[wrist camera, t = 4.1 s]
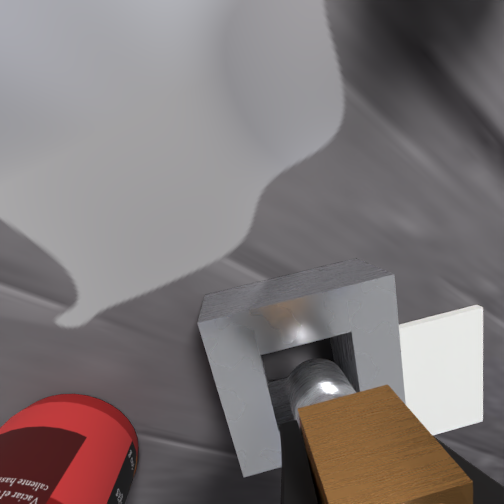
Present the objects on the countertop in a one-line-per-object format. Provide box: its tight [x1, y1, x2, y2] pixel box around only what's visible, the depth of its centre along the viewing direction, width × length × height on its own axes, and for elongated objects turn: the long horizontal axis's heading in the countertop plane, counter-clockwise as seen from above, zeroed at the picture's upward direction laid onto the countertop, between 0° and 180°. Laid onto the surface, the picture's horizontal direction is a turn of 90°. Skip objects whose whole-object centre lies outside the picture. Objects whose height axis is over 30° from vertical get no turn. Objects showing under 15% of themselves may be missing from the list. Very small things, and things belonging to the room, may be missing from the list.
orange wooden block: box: [286, 358, 473, 504], centre depth 8 cm, size 6×3×6 cm, turn 12°
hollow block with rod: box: [198, 258, 406, 477], centre depth 13 cm, size 14×9×3 cm, turn 13°
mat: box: [399, 305, 483, 435], centre depth 16 cm, size 9×7×1 cm
